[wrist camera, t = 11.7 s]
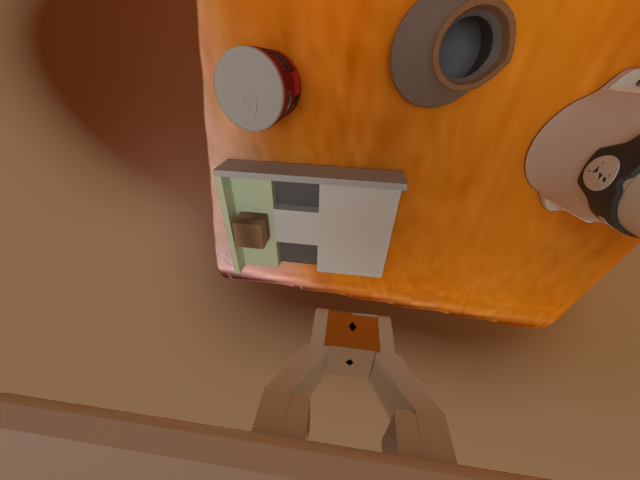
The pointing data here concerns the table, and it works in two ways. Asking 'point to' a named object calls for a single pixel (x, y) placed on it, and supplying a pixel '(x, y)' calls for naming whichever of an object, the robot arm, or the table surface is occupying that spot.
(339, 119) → the table surface
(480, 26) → the coffee pot
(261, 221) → the walnut block
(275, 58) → the canned food
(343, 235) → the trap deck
